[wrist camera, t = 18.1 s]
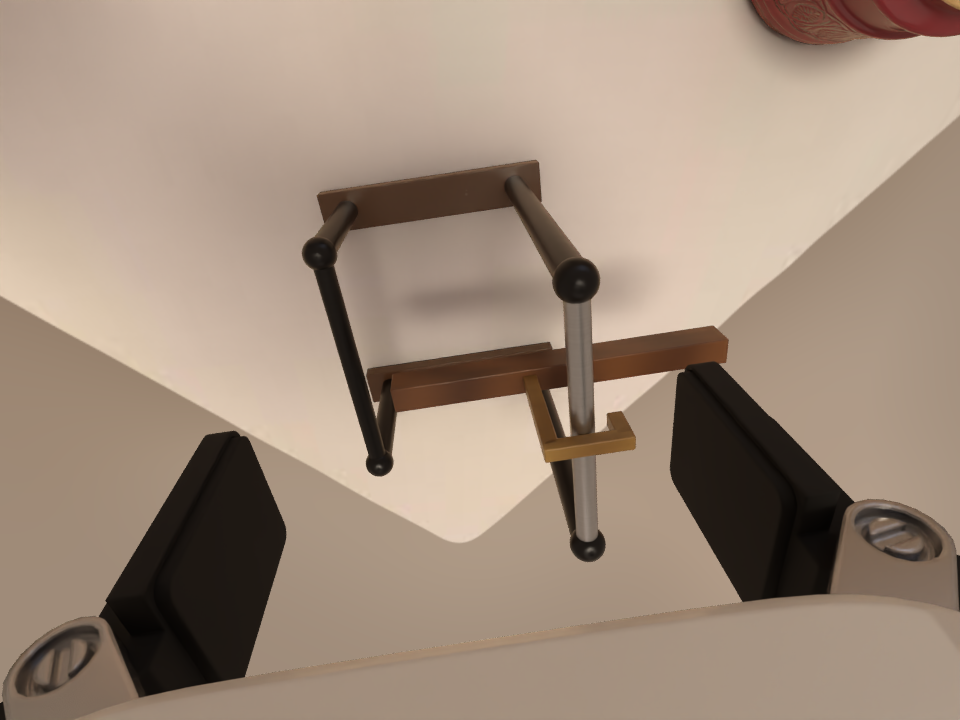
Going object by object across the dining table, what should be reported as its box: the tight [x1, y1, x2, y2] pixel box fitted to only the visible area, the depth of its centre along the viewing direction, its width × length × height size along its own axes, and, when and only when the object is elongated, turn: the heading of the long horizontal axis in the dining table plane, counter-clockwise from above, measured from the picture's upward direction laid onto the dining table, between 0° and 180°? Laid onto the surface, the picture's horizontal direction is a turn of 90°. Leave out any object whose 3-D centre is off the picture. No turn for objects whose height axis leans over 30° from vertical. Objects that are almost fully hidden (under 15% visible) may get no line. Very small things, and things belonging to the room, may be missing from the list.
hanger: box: [390, 326, 729, 463], centre depth 29 cm, size 20×2×9 cm, turn 98°
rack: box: [302, 160, 606, 562], centre depth 36 cm, size 17×19×23 cm
